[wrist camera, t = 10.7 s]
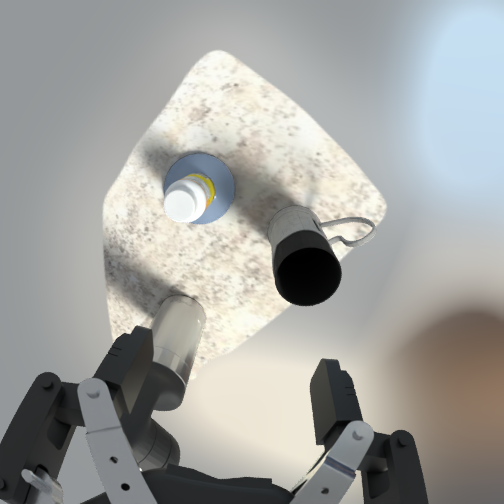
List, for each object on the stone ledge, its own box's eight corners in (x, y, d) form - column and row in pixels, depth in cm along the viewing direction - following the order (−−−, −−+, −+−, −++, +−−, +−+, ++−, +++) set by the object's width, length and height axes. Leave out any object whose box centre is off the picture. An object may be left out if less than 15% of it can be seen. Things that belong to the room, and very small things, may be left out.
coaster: (229, 227, 43) (228, 229, 42) (164, 216, 43) (161, 218, 42) (240, 159, 39) (239, 159, 38) (170, 150, 38) (168, 150, 38)
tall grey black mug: (257, 223, 43) (253, 266, 29) (335, 178, 39) (371, 200, 25) (285, 266, 45) (292, 321, 32) (359, 225, 42) (397, 265, 28)
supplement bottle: (189, 212, 41) (168, 235, 32) (175, 180, 39) (149, 194, 30) (222, 200, 40) (208, 219, 31) (208, 166, 38) (190, 175, 29)
